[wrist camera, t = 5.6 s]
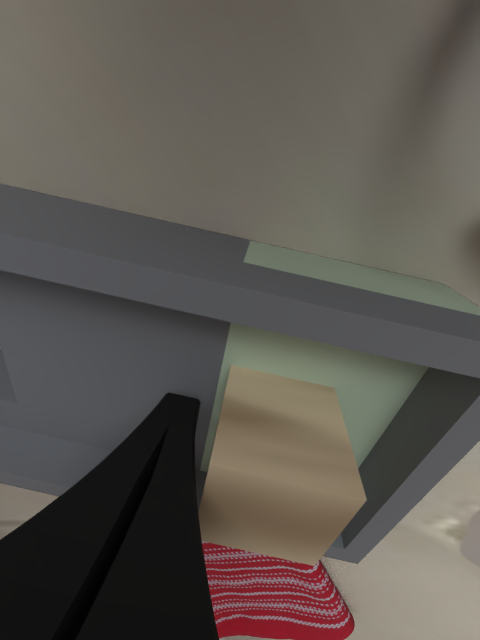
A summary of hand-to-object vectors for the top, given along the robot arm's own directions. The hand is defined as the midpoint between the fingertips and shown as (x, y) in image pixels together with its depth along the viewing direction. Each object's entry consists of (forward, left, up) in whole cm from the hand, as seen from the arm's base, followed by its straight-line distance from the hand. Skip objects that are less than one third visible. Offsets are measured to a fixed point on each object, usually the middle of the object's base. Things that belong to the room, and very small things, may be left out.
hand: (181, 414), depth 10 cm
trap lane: (0, +3, -4) cm, 5 cm away
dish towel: (-24, -6, -5) cm, 25 cm away
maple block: (0, -3, -1) cm, 4 cm away
